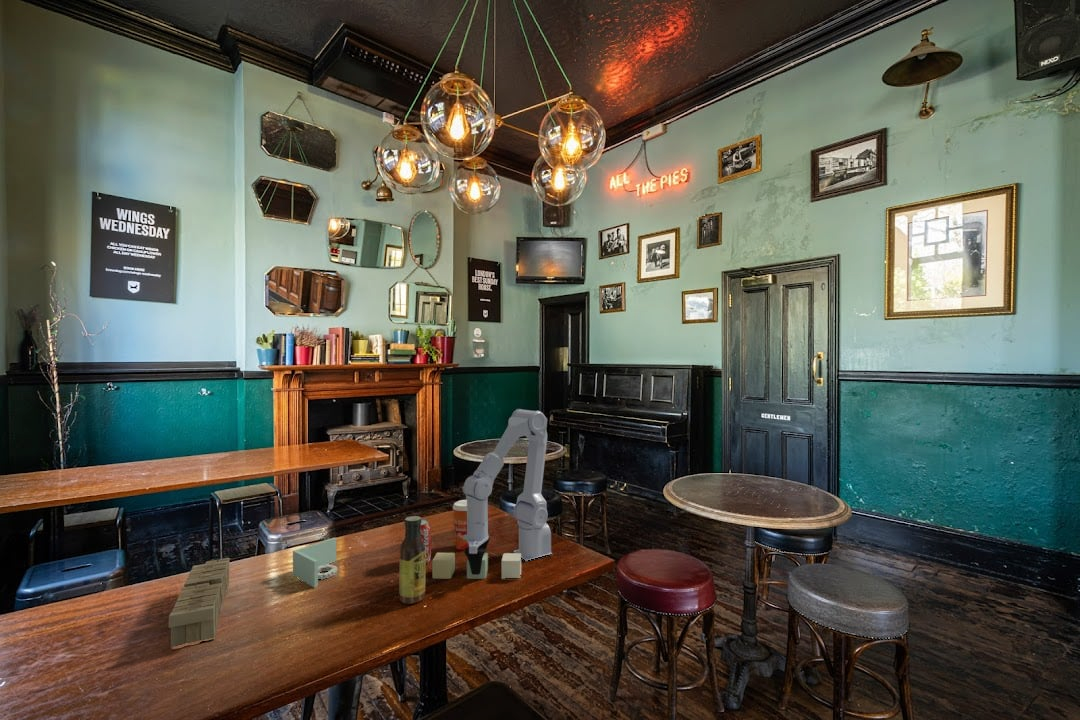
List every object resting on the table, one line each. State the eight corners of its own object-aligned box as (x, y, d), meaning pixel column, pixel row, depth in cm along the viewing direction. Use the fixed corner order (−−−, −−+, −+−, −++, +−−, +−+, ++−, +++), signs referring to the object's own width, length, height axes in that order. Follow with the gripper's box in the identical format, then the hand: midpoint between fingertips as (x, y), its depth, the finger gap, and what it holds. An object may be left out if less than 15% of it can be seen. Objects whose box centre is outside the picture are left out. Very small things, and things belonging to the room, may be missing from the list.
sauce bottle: (418, 606, 111) (417, 524, 111) (394, 604, 113) (394, 522, 113) (430, 593, 118) (429, 515, 118) (407, 591, 119) (407, 513, 119)
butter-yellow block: (454, 570, 131) (454, 552, 131) (450, 578, 126) (450, 560, 126) (437, 570, 131) (437, 552, 131) (432, 578, 126) (432, 560, 126)
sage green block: (487, 570, 131) (487, 552, 131) (485, 578, 126) (485, 560, 126) (470, 570, 131) (470, 552, 131) (466, 578, 126) (466, 560, 126)
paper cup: (448, 550, 145) (448, 505, 145) (459, 541, 152) (459, 498, 152) (471, 553, 143) (470, 507, 143) (481, 543, 150) (481, 500, 150)
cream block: (521, 571, 130) (521, 553, 130) (520, 579, 125) (519, 561, 125) (503, 571, 130) (503, 553, 130) (501, 579, 125) (501, 560, 125)
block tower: (193, 596, 119) (166, 656, 93) (193, 563, 119) (166, 613, 94) (230, 589, 123) (214, 644, 97) (230, 557, 123) (213, 603, 97)
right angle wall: (314, 590, 121) (314, 561, 121) (292, 577, 128) (292, 550, 128) (356, 573, 130) (356, 547, 130) (334, 562, 138) (334, 537, 138)
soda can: (434, 558, 139) (434, 518, 139) (426, 568, 132) (425, 526, 132) (411, 557, 140) (411, 517, 140) (402, 567, 133) (402, 525, 133)
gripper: (467, 511, 136) (468, 558, 135) (457, 529, 121) (457, 581, 121) (491, 511, 135) (492, 558, 135) (484, 529, 121) (484, 581, 121)
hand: (477, 569), depth 128 cm, fingers closed on sage green block, 5 cm apart
